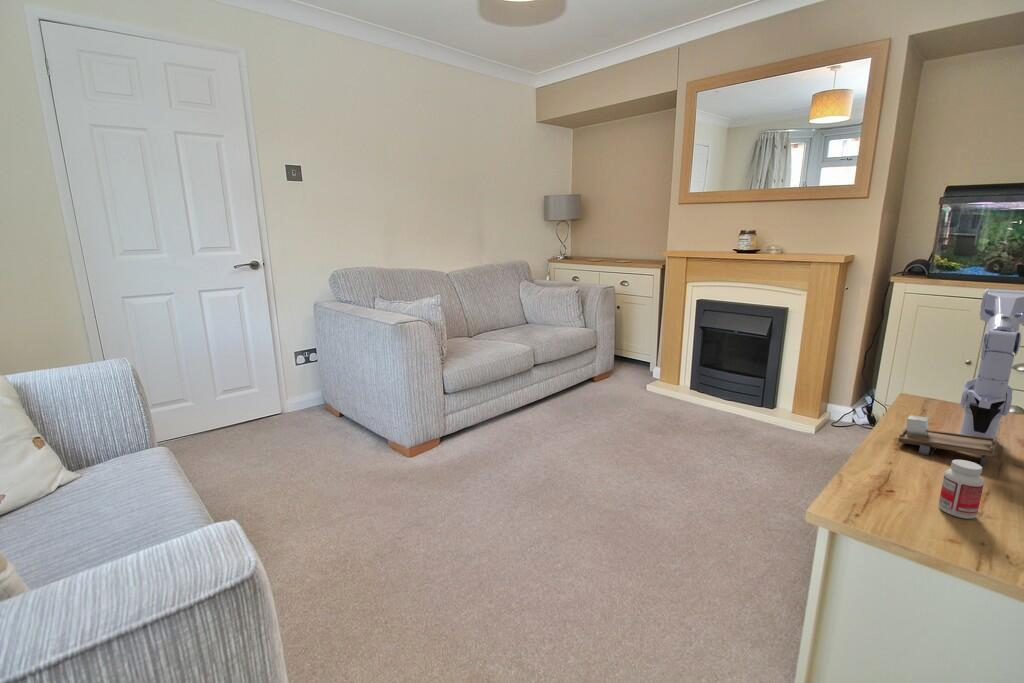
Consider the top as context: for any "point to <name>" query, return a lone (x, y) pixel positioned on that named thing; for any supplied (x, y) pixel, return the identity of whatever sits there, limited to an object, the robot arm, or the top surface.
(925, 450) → the beam stand
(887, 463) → the top surface
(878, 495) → the top surface
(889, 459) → the top surface
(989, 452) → the balance beam
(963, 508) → the pill bottle
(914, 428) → the block
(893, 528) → the top surface
